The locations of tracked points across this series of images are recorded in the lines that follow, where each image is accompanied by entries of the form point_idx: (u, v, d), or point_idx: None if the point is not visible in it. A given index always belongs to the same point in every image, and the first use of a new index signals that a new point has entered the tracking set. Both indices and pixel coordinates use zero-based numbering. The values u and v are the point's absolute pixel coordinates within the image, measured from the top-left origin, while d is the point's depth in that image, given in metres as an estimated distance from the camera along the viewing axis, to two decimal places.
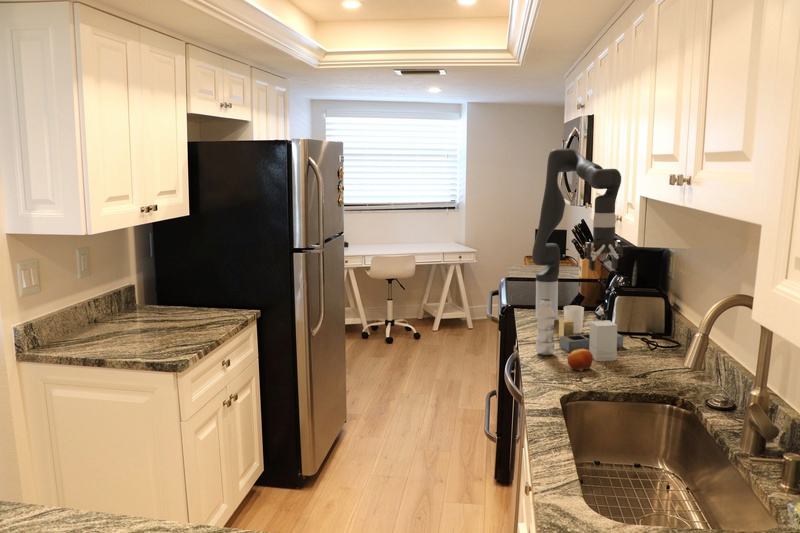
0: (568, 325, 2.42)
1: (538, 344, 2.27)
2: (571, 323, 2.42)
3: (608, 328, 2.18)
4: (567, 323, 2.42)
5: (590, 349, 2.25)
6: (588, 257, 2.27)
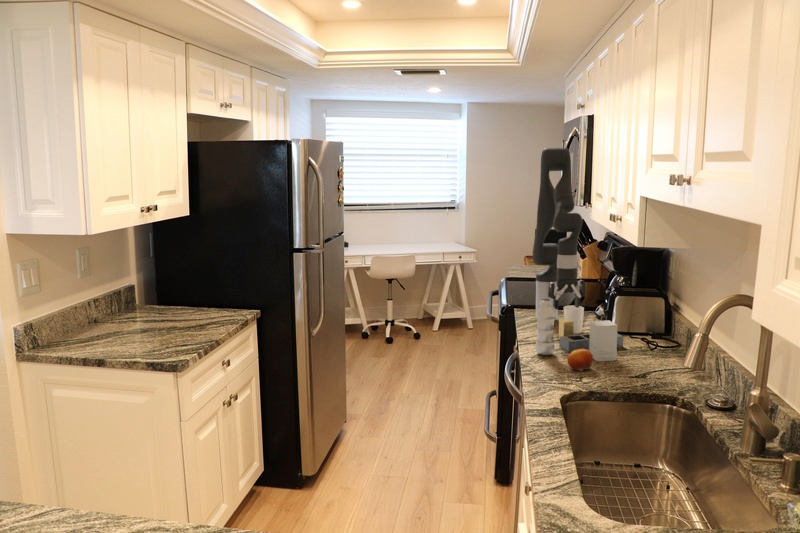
0: (567, 325, 2.42)
1: (538, 344, 2.27)
2: (571, 323, 2.42)
3: (608, 328, 2.18)
4: (567, 323, 2.42)
5: (590, 349, 2.25)
6: (552, 296, 2.39)
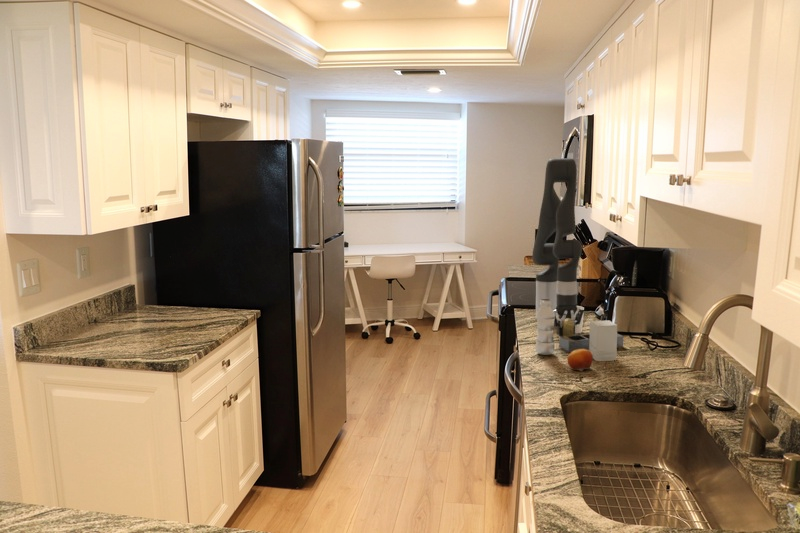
0: (568, 325, 2.42)
1: (538, 344, 2.27)
2: (571, 323, 2.42)
3: (608, 328, 2.18)
4: (567, 323, 2.42)
5: (590, 349, 2.25)
6: (556, 324, 2.42)
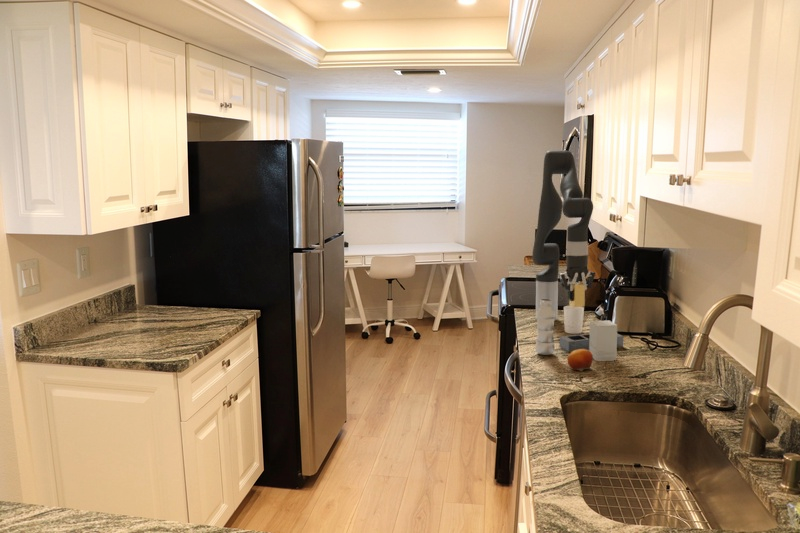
0: (578, 288, 2.30)
1: (538, 344, 2.27)
2: (582, 286, 2.30)
3: (608, 328, 2.18)
4: (578, 286, 2.30)
5: (590, 349, 2.25)
6: (566, 287, 2.29)
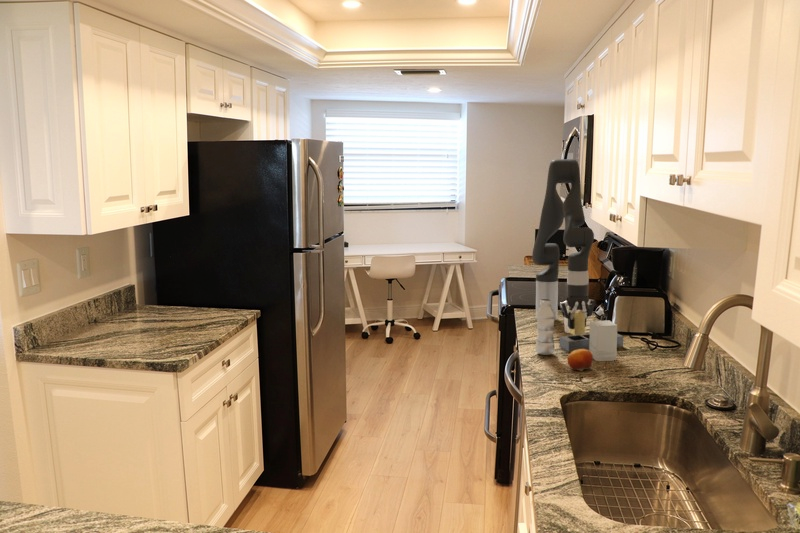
0: (579, 317, 2.31)
1: (538, 344, 2.27)
2: (582, 315, 2.31)
3: (608, 328, 2.18)
4: (578, 315, 2.31)
5: (590, 349, 2.25)
6: (567, 316, 2.31)
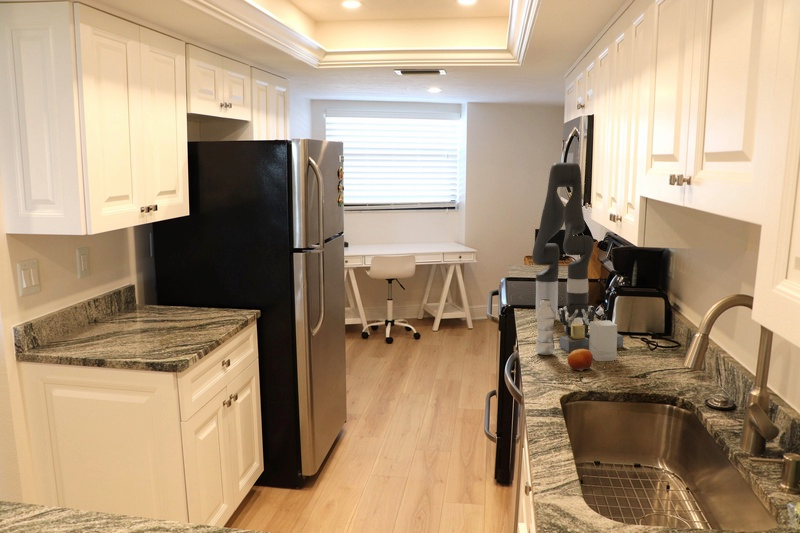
0: (579, 329, 2.32)
1: (538, 344, 2.27)
2: (582, 327, 2.32)
3: (608, 328, 2.18)
4: (578, 327, 2.32)
5: (590, 349, 2.25)
6: (564, 323, 2.31)
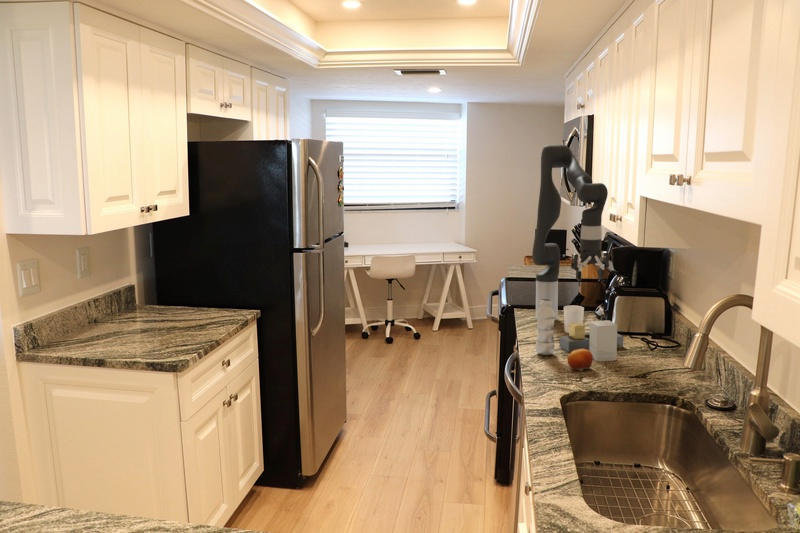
0: (579, 329, 2.32)
1: (538, 344, 2.27)
2: (582, 327, 2.32)
3: (608, 328, 2.18)
4: (578, 327, 2.32)
5: (590, 349, 2.25)
6: (575, 268, 2.37)
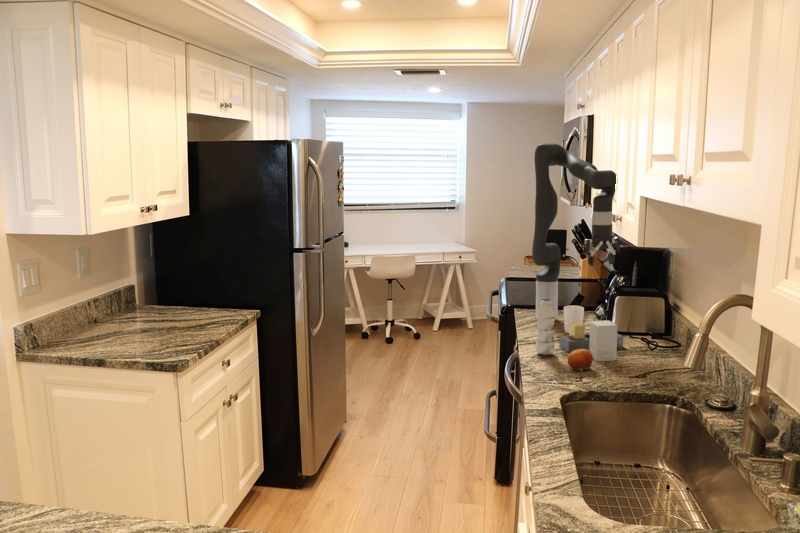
0: (579, 329, 2.32)
1: (538, 344, 2.27)
2: (582, 327, 2.32)
3: (608, 328, 2.18)
4: (578, 327, 2.32)
5: (590, 349, 2.25)
6: (587, 253, 2.43)
